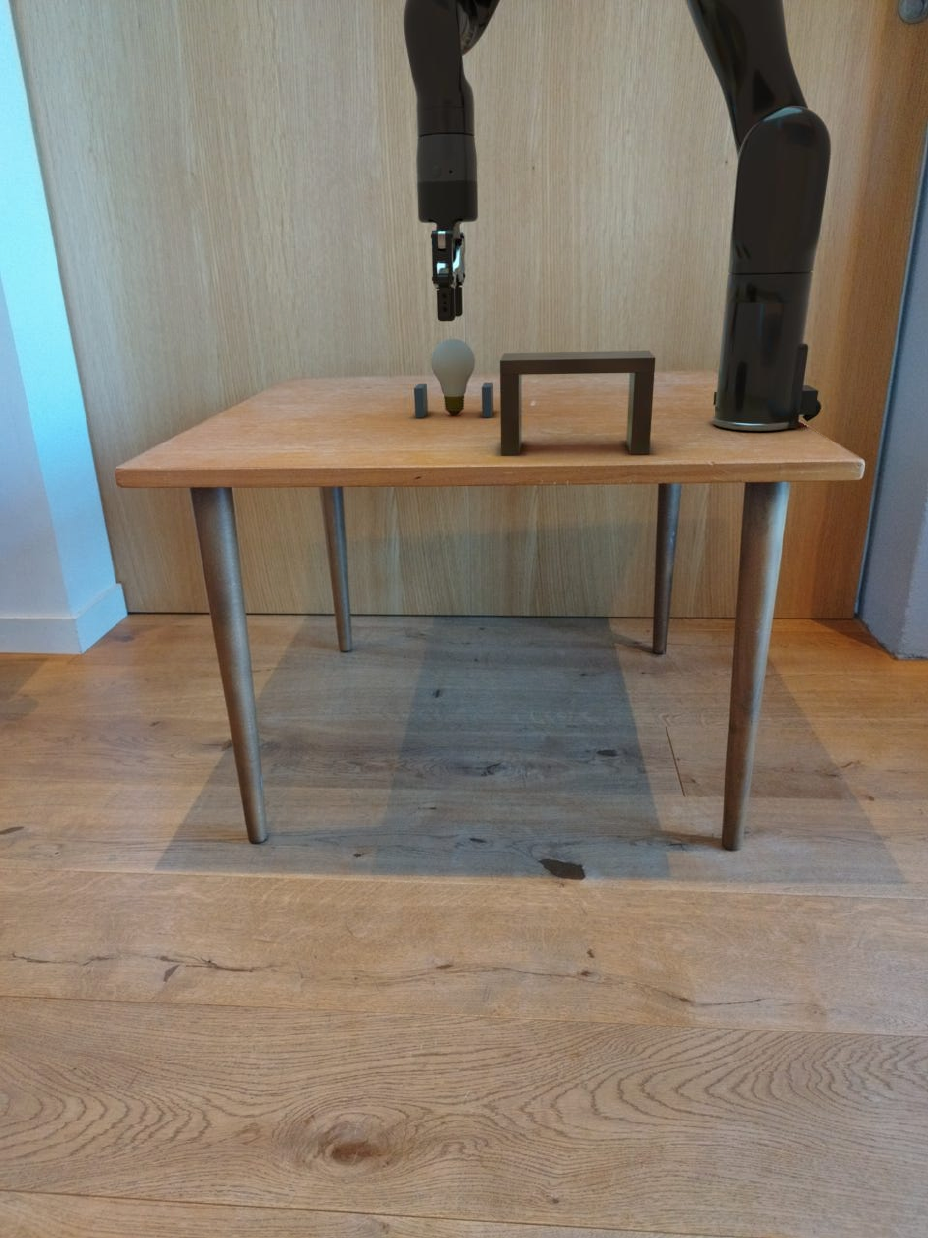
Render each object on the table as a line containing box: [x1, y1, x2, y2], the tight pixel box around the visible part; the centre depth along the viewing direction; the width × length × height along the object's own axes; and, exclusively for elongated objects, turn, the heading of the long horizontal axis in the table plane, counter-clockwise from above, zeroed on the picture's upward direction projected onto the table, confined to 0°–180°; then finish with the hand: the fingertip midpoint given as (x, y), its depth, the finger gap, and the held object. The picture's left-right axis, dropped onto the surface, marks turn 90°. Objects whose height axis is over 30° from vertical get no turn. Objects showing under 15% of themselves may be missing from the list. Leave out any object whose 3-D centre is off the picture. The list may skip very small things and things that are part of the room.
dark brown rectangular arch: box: [499, 350, 656, 456], centre depth 90 cm, size 16×6×10 cm, turn 84°
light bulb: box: [430, 338, 476, 416], centre depth 111 cm, size 6×6×10 cm
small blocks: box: [413, 382, 494, 419], centre depth 112 cm, size 10×4×4 cm, turn 84°
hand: (450, 318), depth 108 cm, fingers open, 8 cm apart
